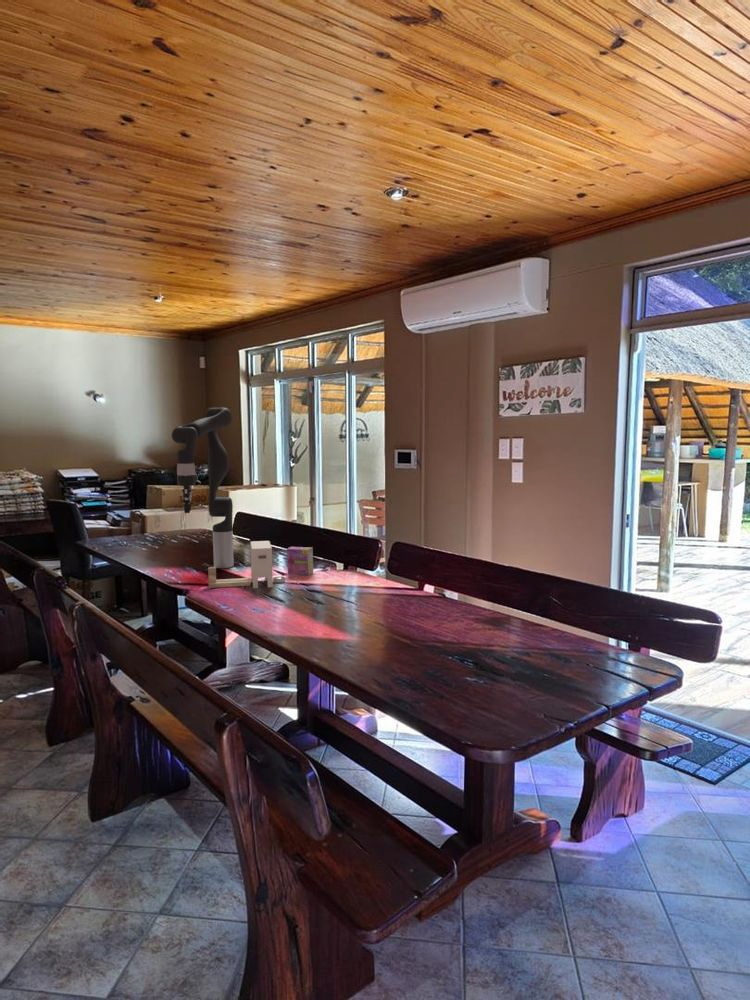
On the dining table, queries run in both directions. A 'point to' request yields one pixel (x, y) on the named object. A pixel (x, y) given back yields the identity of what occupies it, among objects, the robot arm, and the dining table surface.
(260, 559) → the notched block
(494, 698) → the dining table surface
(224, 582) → the stepped wooden block
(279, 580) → the puck
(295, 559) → the box
